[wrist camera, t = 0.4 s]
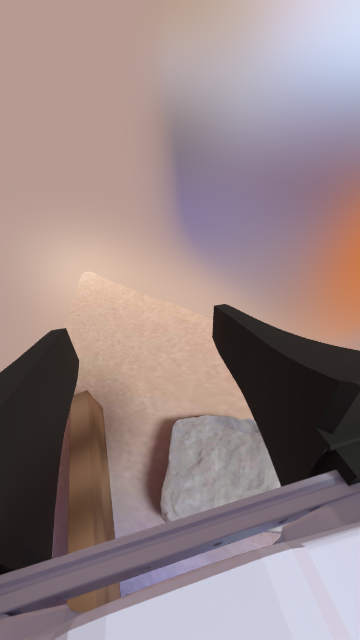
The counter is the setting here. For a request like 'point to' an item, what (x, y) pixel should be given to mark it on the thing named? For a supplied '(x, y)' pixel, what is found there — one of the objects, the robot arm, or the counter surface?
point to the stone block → (214, 466)
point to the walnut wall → (89, 492)
